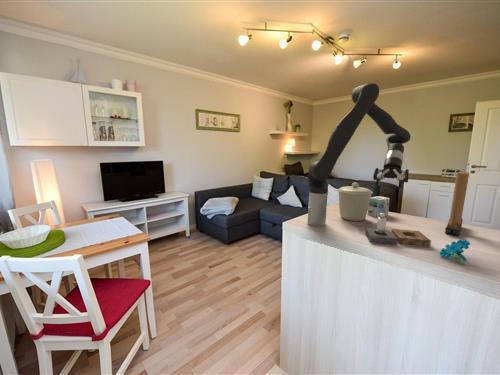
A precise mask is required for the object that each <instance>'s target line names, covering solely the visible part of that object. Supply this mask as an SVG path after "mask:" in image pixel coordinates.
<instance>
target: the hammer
mask: <svg viewBox="0 0 500 375" xmlns="http://www.w3.org/2000/svg"><path fill="white" fill-rule="evenodd" d="M455 176H456V177H455V182H454V190H453V194H452V202H451V207H450V215H449V219H448V222H447V225H446V227H445V228H444V230H445V231H444V232H445V234H450V235H455V236H458V237H459V236H460V233H461V230H462V227H463V212H464V207H465V201H466V195H467V194H466V193H467V188H468V184H469V179H470V178H469V176H470V172H468V171H457V172H456V175H455Z"/></svg>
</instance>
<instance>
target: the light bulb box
mask: <svg viewBox="0 0 500 375" xmlns="http://www.w3.org/2000/svg"><path fill="white" fill-rule="evenodd" d="M389 207H390V197H385V196H381V195H379V196H371V198H370V202H369V207H368V211H367V215H368V216H371V217H374V218H378V217H380V213H385V217H386V216H389V209H390V208H389Z"/></svg>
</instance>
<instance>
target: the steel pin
mask: <svg viewBox="0 0 500 375" xmlns="http://www.w3.org/2000/svg"><path fill="white" fill-rule="evenodd" d="M386 225H387V217H386V216H385V213H380V217H377V223H376V229H377V231H376V234H378V235H385V230H386Z"/></svg>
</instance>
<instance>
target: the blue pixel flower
mask: <svg viewBox="0 0 500 375" xmlns="http://www.w3.org/2000/svg"><path fill="white" fill-rule="evenodd" d="M470 245H471V242H470V241H468V240H467V239H463V240H462V239H458V240H457V241H451V244H445V246H444V247H445V248H441V249H440V252H438V254H439V256H441V257H442V258H447V259H448V258H449V259H450V258H451V256H452V257H454V259H455V260H456V261H458V262H459V263H461V265H462V266H465V265H466V263H465V262H466V261H468V259H467V258H466V257H465V255H463V253H465V251H464V249H465V250H467V249H469V248H470V247H469V246H470ZM464 261H465V262H464Z"/></svg>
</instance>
